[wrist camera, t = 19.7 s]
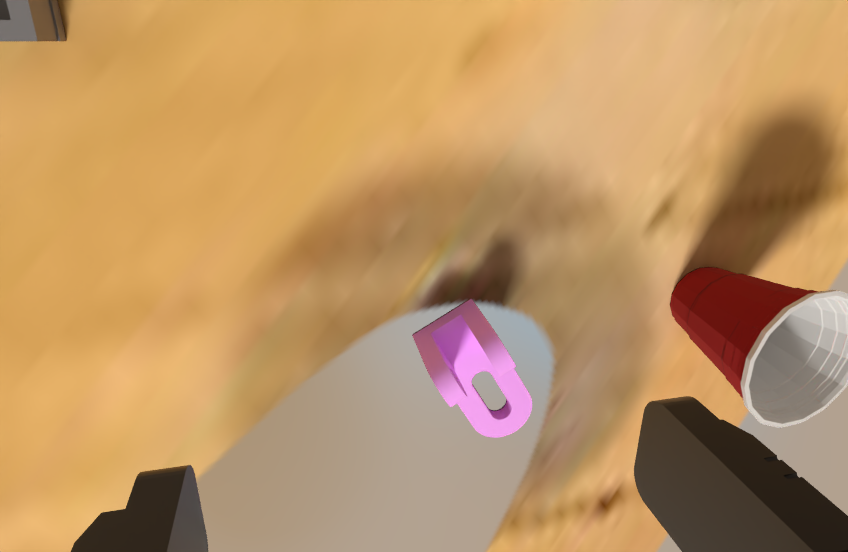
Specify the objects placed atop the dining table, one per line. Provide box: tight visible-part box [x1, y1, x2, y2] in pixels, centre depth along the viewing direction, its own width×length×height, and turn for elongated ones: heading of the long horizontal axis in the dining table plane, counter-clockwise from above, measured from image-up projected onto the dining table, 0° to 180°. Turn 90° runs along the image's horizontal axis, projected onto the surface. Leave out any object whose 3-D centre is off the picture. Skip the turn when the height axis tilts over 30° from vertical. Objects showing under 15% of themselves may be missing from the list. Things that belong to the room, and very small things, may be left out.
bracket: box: [412, 299, 532, 437], centre depth 46 cm, size 13×6×7 cm, turn 29°
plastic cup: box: [670, 267, 848, 428], centre depth 45 cm, size 11×11×12 cm
